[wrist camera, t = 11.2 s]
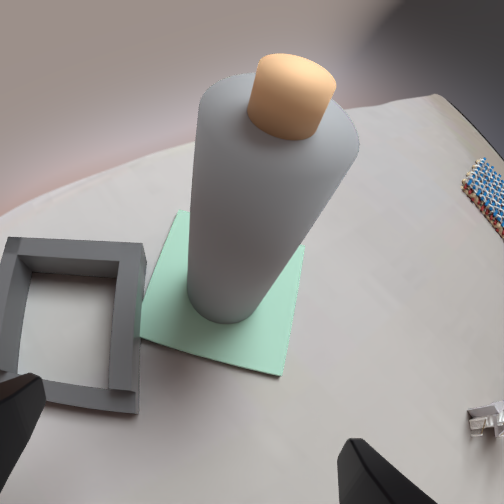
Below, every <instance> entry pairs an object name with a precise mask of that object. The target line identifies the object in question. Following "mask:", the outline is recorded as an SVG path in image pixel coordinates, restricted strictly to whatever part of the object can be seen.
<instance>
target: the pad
mask: <svg viewBox="0 0 504 504" xmlns="http://www.w3.org/2000/svg"><path fill="white" fill-rule="evenodd" d="M189 223H190V212H186V211H183V210H179V211H178V213H177V215H176V218H175V220H174V223H173V225H172V227H171V230H170V232H169V235H168V237H167V240H166V242H165V245H164V247H163V250H162V252H161V255H160V257H159V260H158V262H157V265H156V267H155V270H154V273H153V275H152V278H151V281H150V283H149V286H148V289H147V291H146V294H145V297H144V300H143V302H142V309H141V323H140V338H142V339H145V340H148V341H151V342H154V343H157V344H160V345H164V346H167V347H170V348H173V349H176V350H180V351H183V352H186V353H190V354H193V355H197V356H200V357H204V358H207V359H211V360H214V361H218V362H222V363H226V364H229V365H233V366H237V367H241V368H245V369H249V370H254V371H258V372H262V373H267V374H271V375H276V376H282V373H283V368H284V363H285V358H286V353H287V348H288V343H289V337H290V332H291V327H292V321H293V316H294V310H295V304H296V298H297V293H298V287H299V281H300V275H301V268H302V262H303V256H304V249H305V246H304V245H299V247H298V248H297V250H296V251H295V253H294V254H293V256H292V257H291V259H290V260H289V262H288V263H287V265H286V266H285V268H284V269H283V271H282V272H281V274H280V275H279V277H278V278H277V279H276V281H275V282H274V284H273V285H272V287H271V288H270V290H269V291H268V293H267V294H266V295H265V297H264V298H263V300H262V301H261V303H260V304H259V306H258V307H257V308H256V310H255V311H254V312H253V313H252V314H251V315H250V316H249V317H248V318H246V319H245V320H243V321H240V322H237V323H233V324H219V323H215V322H212V321H209V320H207V319H205V318H204V317H203V316H201V315H200V314H199V313H198V312H197V311H196V310H195V309H194V307H193V306H192V304H191V302H190V300H189V297H188V293H187V270H188V244H189Z"/></svg>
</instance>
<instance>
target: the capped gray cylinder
mask: <svg viewBox="0 0 504 504" xmlns="http://www.w3.org/2000/svg"><path fill="white" fill-rule="evenodd" d="M335 89H336V82H335V80H334V78H333V76H332V75H331V74H330V73H329V72H328V71H327V70H325V69H324V68H323V67H321V66H319V65H318V64H316V63H314V62H312V61H310V60H308V59H305V58H302V57H299V56H295V55H289V54H271V55H267V56H265V57H263V58H262V59H261V60H260V61H259V64H258V68H257V72H256V73H246V74H239V75H234V76H230V77H227V78H224V79H222V80H220V81H218V82H216V83H215V84H213V85H212V86H211V87H210V88H209V89H207V91H206V92H205V93H204V94H203V96H202V98H201V101H200V104H199V111H198V121H197V130H196V141H195V152H194V164H193V177H192V190H191V206H190V223H189V244H188V270H187V293H188V297H189V300H190V302H191V304H192V306H193V307H194V309H195V310H196V311H197V312H198V313H199V314H200V315H201V316H203V317H204V318H205V319H207V320H209V321H212V322H215V323H219V324H233V323H237V322H240V321H243V320H245V319H246V318H248V317H249V316H250V315H251V314H252V313H253V312H254V311H255V310H256V308H257V307H258V306H259V304H260V303H261V301H262V300H263V298H264V297H265V295H266V294H267V293H268V291H269V290H270V288H271V287H272V285H273V284H274V282H275V281H276V279H277V278H278V277H279V275H280V274H281V272H282V271H283V269H284V268H285V266H286V265H287V263H288V262H289V260H290V259H291V257H292V256H293V254H294V253H295V251H296V250H297V248H298V247H299V245H300V244H301V242H302V241H303V239H304V238H305V236H306V235H307V233H308V232H309V230H310V229H311V227H312V226H313V224H314V223H315V221H316V220H317V218H318V217H319V215H320V214H321V212H322V211H323V209H324V208H325V206H326V204H327V203H328V201H329V200H330V198H331V197H332V195H333V194H334V192H335V191H336V189H337V187H338V186H339V184H340V183H341V181H342V180H343V178H344V177H345V175H346V173H347V172H348V170H349V169H350V167H351V165H352V164H353V162H354V161H355V159H356V157H357V155H358V152H359V144H360V143H359V136H358V133H357V130H356V127H355V125H354V123H353V122H352V120H351V118H350V117H349V116H348V114H347V113H346V112H345V111H344V110H343V109H342V108H341V107H340V106H339V105H338V104H337V103H336V102H335V101H333V100H332V99H331V97H332V95H333V93H334V91H335Z"/></svg>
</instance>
